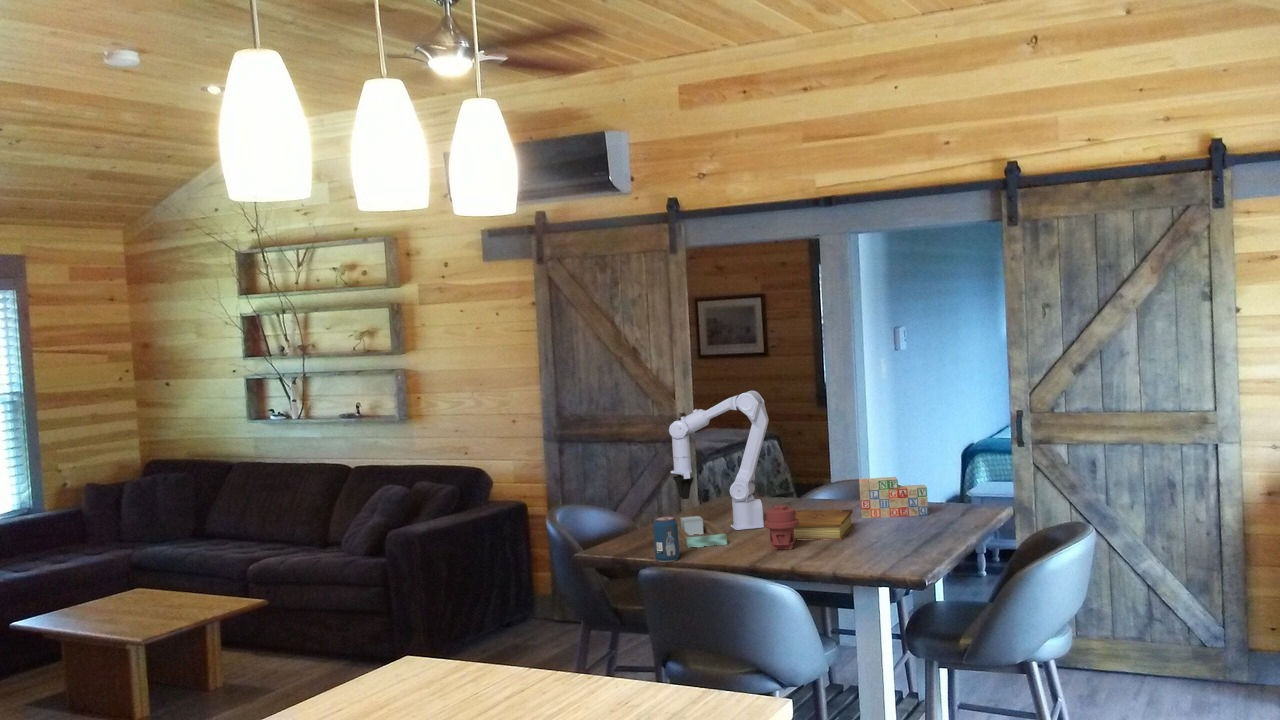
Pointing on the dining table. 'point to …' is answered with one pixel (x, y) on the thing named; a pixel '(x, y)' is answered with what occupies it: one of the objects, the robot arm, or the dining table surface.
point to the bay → (700, 541)
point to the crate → (692, 525)
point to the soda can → (666, 539)
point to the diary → (822, 524)
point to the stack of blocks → (891, 498)
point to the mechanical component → (781, 526)
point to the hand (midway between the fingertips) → (684, 498)
